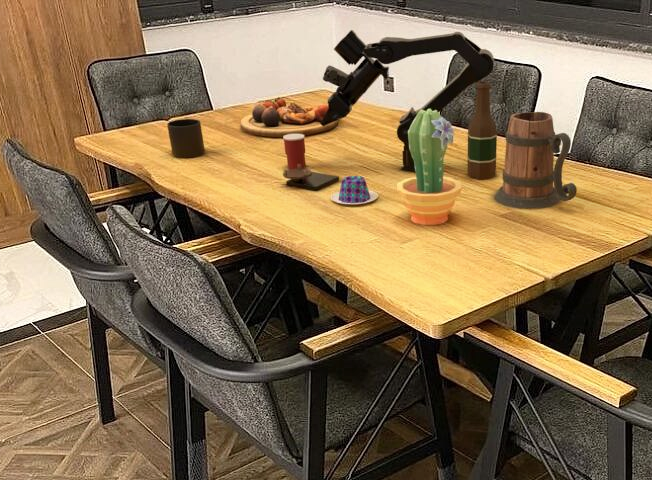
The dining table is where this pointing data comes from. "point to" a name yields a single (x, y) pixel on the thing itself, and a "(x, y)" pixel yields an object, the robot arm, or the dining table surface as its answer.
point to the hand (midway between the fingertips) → (324, 120)
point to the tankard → (534, 163)
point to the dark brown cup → (186, 138)
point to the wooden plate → (285, 119)
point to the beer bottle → (482, 137)
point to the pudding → (354, 191)
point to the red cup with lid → (295, 150)
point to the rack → (308, 179)
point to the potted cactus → (429, 170)
